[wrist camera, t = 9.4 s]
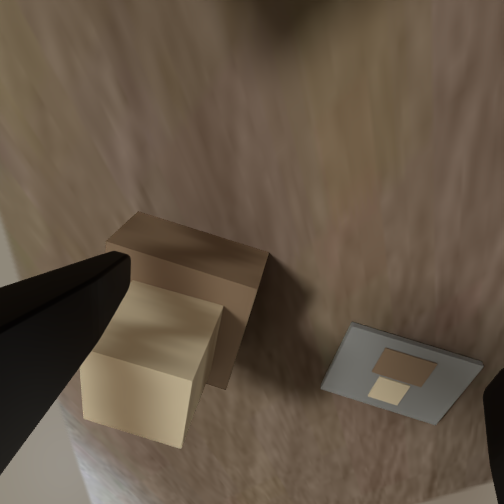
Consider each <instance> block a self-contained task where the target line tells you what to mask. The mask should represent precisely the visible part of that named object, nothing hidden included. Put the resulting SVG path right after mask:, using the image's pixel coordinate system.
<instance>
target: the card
mask: <svg viewBox="0 0 504 504" xmlns="http://www.w3.org/2000/svg"><path fill="white" fill-rule="evenodd" d="M483 367H484V366H483V363H482V361H479V360H475V359H472V358H469V357H465V356H462V355H459V354H456V353H452V352H449V351H446V350H443V349H439V348H436V347H433V346H429V345H426V344H423V343H420V342H416V341H413V340H410V339H407V338H403V337H400V336H397V335H393V334H390V333H387V332H384V331H380V330H377V329H374V328H371V327H367V326H364V325H361V324H358V323H354V322H351V324H350V326H349V328H348V330H347V332H346V334H345V336H344V338H343V340H342V342H341V344H340V346H339V348H338V351H337V353H336V355H335V357H334V359H333V361H332V363H331V365H330V367H329V369H328V371H327V373H326V375H325V377H324V379H323V381H322V383H321V389H322V390H326V391H329V392H332V393H335V394H338V395H341V396H344V397H348V398H351V399H354V400H357V401H360V402H363V403H367V404H370V405H373V406H376V407H379V408H382V409H386V410H389V411H392V412H395V413H398V414H401V415H405V416H408V417H411V418H414V419H417V420H420V421H424V422H427V423H430V424H433V425H436V424H437V423H438V422H439V420H440V419H441V418H442V417H443V416H444V414H445V413H446V412H447V411H448V410H449V408H450V407H451V406H452V405H453V403H454V402H455V401H456V400H457V399H458V397H459V396H460V395H461V394H462V392H463V391H464V390H465V389H466V388H467V386H468V385H469V384H470V383H471V381H472V380H473V379H474V378H475V377H476V375H477V374H478V373H479V372H480V370H481V369H482V368H483Z"/></svg>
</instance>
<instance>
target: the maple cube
mask: <svg viewBox="0 0 504 504" xmlns="http://www.w3.org/2000/svg"><path fill="white" fill-rule="evenodd" d="M222 311H223V305H219V304H216V303H212V302H208V301H205V300H201V299H198V298H194V297H191V296H187V295H184V294H180V293H177V292H173V291H169V290H166V289H162V288H159V287H155V286H152V285H148V284H145V283H141V282H138V281H134V280H132V282H131V283H130V286H129V289H128V291H127V293H126V295H125V297H124V298H123V300H122V302H121V304H120V305H119V307H118V309H117V311H116V312H115V314H114V316H113V318H112V319H111V321H110V323H109V325H108V326H107V328H106V330H105V332H104V333H103V335H102V337H101V338H100V340H99V341H98V343H97V344H96V346H95V347H94V348H93V350H92V351H91V353H90V354H89V355H88V357H87V358H86V359H85V361H84V362H83V363H82V365H81V366H80V377H81V391H82V404H83V417H84V419H86V420H89V421H93V422H96V423H99V424H102V425H106V426H109V427H112V428H115V429H118V430H122V431H125V432H128V433H131V434H135V435H138V436H141V437H144V438H148V439H151V440H154V441H157V442H160V443H164V444H167V445H170V446H173V447H177V448H180V449H182V446H183V443H184V441H185V438H186V435H187V433H188V430H189V427H190V424H191V422H192V419H193V416H194V414H195V411H196V408H197V406H198V403H199V400H200V398H201V395H202V392H203V390H204V387H205V384H206V382H207V379H208V376H209V374H210V371H211V367H212V362H213V357H214V352H215V347H216V342H217V336H218V331H219V326H220V321H221V316H222Z"/></svg>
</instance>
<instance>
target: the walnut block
mask: <svg viewBox="0 0 504 504" xmlns="http://www.w3.org/2000/svg"><path fill="white" fill-rule="evenodd" d="M110 251H118V252H122V253H125V254H128V255H129V256H130V257H131V282H132V280H134V281H138V282H141V283H145V284H148V285H152V286H155V287H159V288H162V289H166V290H169V291H173V292H177V293H180V294H184V295H187V296H191V297H194V298H198V299H201V300H205V301H208V302H212V303H216V304H219V305H223V311H222V316H221V321H220V326H219V331H218V336H217V342H216V347H215V352H214V357H213V362H212V367H211V371H210V374H209V376H208V379H207V382H206V384H209V385H212V386H215V387H218V388H221V389H224V390H226V388H227V385H228V382H229V379H230V376H231V373H232V369H233V366H234V363H235V360H236V357H237V353H238V350H239V347H240V344H241V341H242V338H243V334H244V331H245V328H246V325H247V322H248V319H249V315H250V312H251V309H252V306H253V303H254V300H255V296H256V293H257V290H258V287H259V284H260V280H261V277H262V274H263V271H264V267H265V264H266V261H267V258H268V255H269V252H266V251H263V250H260V249H256V248H253V247H250V246H247V245H244V244H240V243H237V242H234V241H231V240H228V239H225V238H221V237H218V236H215V235H212V234H209V233H205V232H202V231H199V230H196V229H193V228H189V227H186V226H183V225H180V224H177V223H174V222H170V221H167V220H164V219H161V218H158V217H154V216H151V215H148V214H145V213H142V212H139V211H138V212H137V213H136V214H135V215H134V216H133V217H132V218H131V219H129V220H128V221H127V222H126V223H125V224H124V225H123V226H122V227H121V228H120V229H119V230H118V231H116V232H115V233H114V234H113V235H112V236H111V237H110V238H109V239H108V240H107V241H106V251H105V253H107V252H110ZM131 282H130V283H131Z"/></svg>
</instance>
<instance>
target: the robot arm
mask: <svg viewBox="0 0 504 504" xmlns="http://www.w3.org/2000/svg"><path fill="white" fill-rule="evenodd" d="M130 282H131V257H130V256H129V255H128V254H125V253H122V252H118V251H110V252H107V253H104V254H101V255H98V256H95V257H92V258H89V259H86V260H83V261H80V262H77V263H74V264H71V265H68V266H65V267H62V268H59V269H56V270H52V271H49V272H46V273H43V274H40V275H37V276H34V277H31V278H28V279H25V280H22V281H19V282H16V283H13V284H10V285H7V286H4V287H1V288H0V475H1V473H2V472H3V471H4V469H5V468H6V467H7V465H8V464H9V463H10V461H11V460H12V458H13V457H14V456H15V454H16V453H17V452H18V450H19V449H20V448H21V446H22V445H23V443H24V442H25V441H26V439H27V438H28V437H29V435H30V434H31V433H32V431H33V430H34V429H35V427H36V426H37V425H38V423H39V422H40V420H41V419H42V418H43V416H44V415H45V414H46V412H47V411H48V410H49V408H50V406H51V405H52V404H53V403H54V401H55V400H56V399H57V397H58V396H59V395H60V393H61V392H62V391H63V389H64V388H65V386H66V385H67V384H68V382H69V381H70V380H71V378H72V377H73V376H74V374H75V373H76V372H77V370H78V369H79V367H80V366H81V365H82V363H83V362H84V361H85V359H86V358H87V357H88V355H89V354H90V353H91V351H92V350H93V348H94V347H95V346H96V344H97V343H98V341H99V340H100V338H101V337H102V335H103V333H104V332H105V330H106V328H107V326H108V325H109V323H110V321H111V319H112V318H113V316H114V314H115V312H116V311H117V309H118V307H119V305H120V304H121V302H122V300H123V298H124V297H125V295H126V293H127V291H128V289H129V286H130ZM483 405H484V415H485V424H486V434H487V444H488V453H489V460H490V467H491V472H492V477H493V482H494V486H495V491H496V495H497V500H498V504H504V368H503V369H501V370H500V371H499V373H498V374H497V375H496V376H495V378H494V379H493V380H492V381H491V382H490V384H489V385H488V386H487V387H486V389H485V391H484V394H483Z"/></svg>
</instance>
